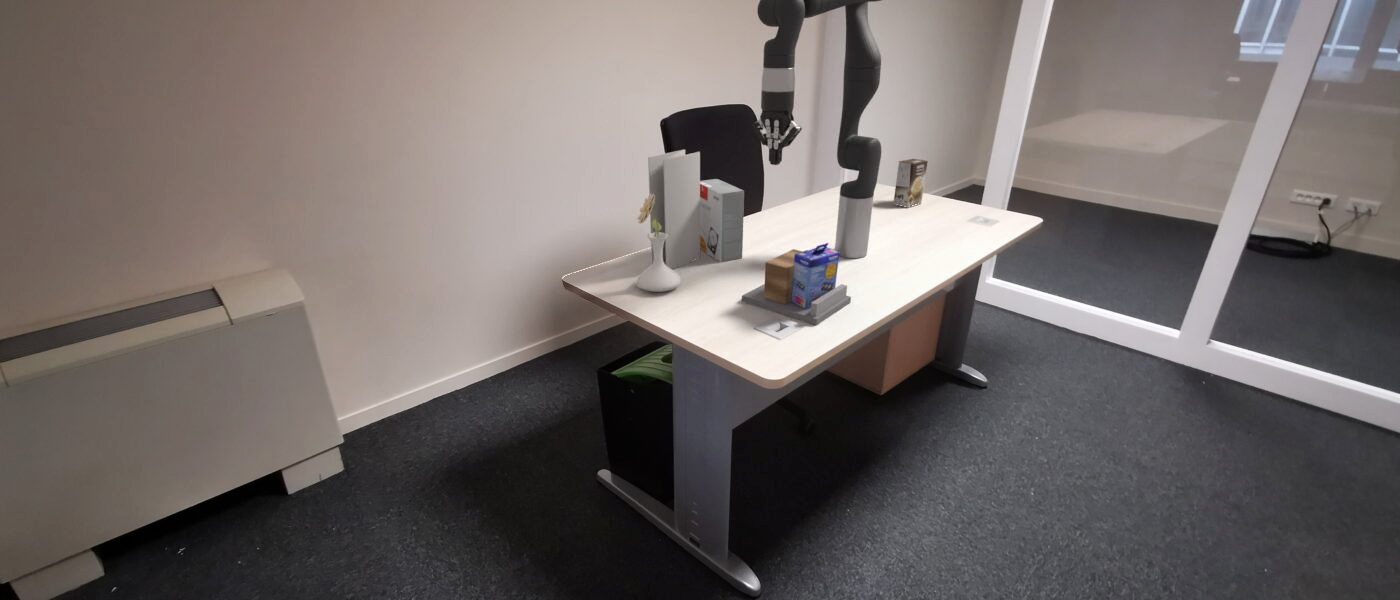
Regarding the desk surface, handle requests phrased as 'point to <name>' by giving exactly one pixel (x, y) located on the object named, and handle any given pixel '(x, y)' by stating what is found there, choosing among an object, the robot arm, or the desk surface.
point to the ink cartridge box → (813, 274)
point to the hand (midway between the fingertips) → (775, 164)
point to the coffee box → (910, 182)
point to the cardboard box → (780, 277)
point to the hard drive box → (721, 220)
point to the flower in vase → (656, 257)
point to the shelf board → (812, 315)
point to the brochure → (676, 204)
